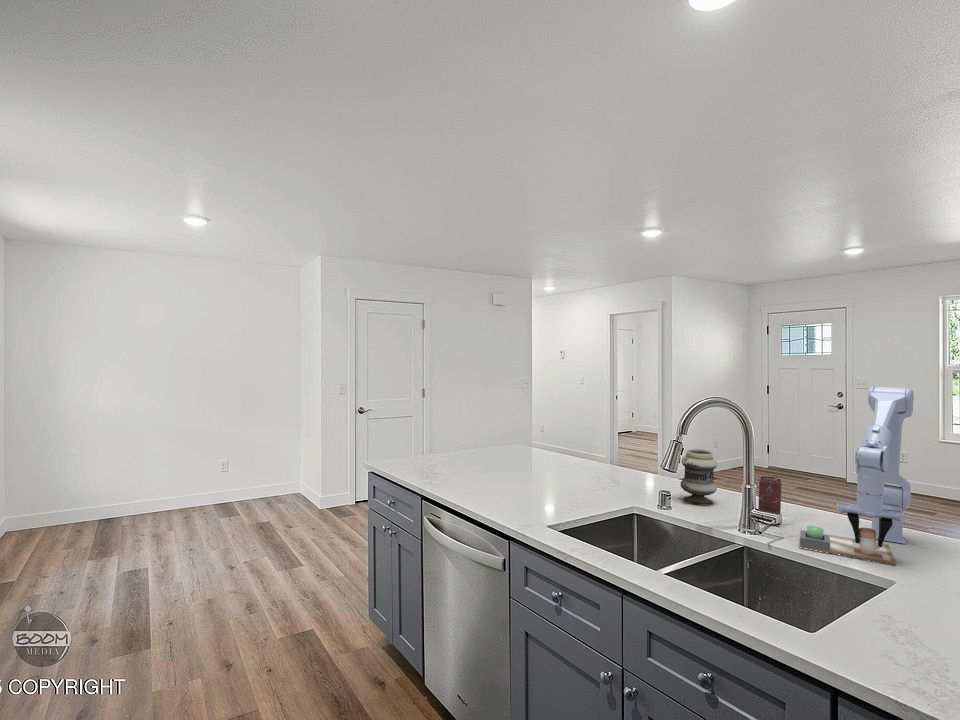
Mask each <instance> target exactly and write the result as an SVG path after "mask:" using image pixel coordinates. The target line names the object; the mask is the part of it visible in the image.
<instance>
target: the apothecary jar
mask: <svg viewBox="0 0 960 720" xmlns="http://www.w3.org/2000/svg"><path fill="white" fill-rule="evenodd" d="M681 464H682V465H683V466H684V475H683V476H684V477H683V478H682V480H681V481H680V488H681V489H682V490H683V491H684V492H686V493H688V494H690V495H688V496H684V497H683V498H682V500H683V501H684V502H685V503H688V504H690V505H698V506H707V507H708V506H712V505H713V504H714V501H712V500H711V499H710V498H709V497H706V496H710V495H712V494H714V493H716V491H717V490H718V485H717V484H716V482H715V480H714V470H715V469H717V467H718V461H717V459H715V458H714V456H713V452H712V451H710V450H706V449H699V448H698V449H697V448H696V449H695V448H694V449H687V450H686V452H685V455H684V456H683V457H682V459H681Z"/></svg>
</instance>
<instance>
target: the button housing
mask: <svg viewBox="0 0 960 720" xmlns="http://www.w3.org/2000/svg"><path fill="white" fill-rule="evenodd" d="M800 531H801V530H800ZM806 531H807V530H803V531H801V535H799V547H800V546H801V547H807V548H813V549H818V550H824V551H829V552H830V537H829V535H830V534H827V535H824V534H825V533H823V540H819V539H814V538H808V537H807V532H806Z"/></svg>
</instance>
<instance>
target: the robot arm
mask: <svg viewBox="0 0 960 720" xmlns="http://www.w3.org/2000/svg"><path fill="white" fill-rule="evenodd" d="M867 400H868V402H867V403H868V405H869V407H870V409H871V411H872V413H873V417H872V418H873V419H872V425H869V426H868V427H866V429H865V432H864V435H863V439H862V442H861V445H860V447H857V448H856V450H855V455H854V463H855V473H856V474H855V475H857V483H856V485H857V486H856V505H851V504H840V503H836V506H835V507H836V510H835V511H836V514H846V515H847V519H848V520H849V523H850V525H851V527H852V531H853V534H854V539H855V542H856V543H859V528H860V516H861V517H862V516H863V517H869V518H871V529H874V530H875V531H876V540H877V543H878V546H879V547H882V544H884V541H885V542H891V543H897V544H904V545H905V544H906V540H905V538H904V536H903V532H904V531H903V530H904V526H903V525H904V523H905V519H906V518H905V517H906V515H905V514H904V510H908V509H909V508H910V506H911V502H912V492H911V484H910V482H909V481H908V480H907V479H906V478H904V477H903V476H901V474H900V465H901V463H900V462H901V450H902V449H901V447H902V433H903V432H902V431H903V423H904V421H905V419H907V418H910V417H912V415H913V413H914V401H915V400H914V390H913V389H911V388H910V387H907V388H906V387H892V386H891V387H889V386H887V387H886V386H876V385H872V386H871V387H870V388H869V390H868V394H867Z"/></svg>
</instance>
